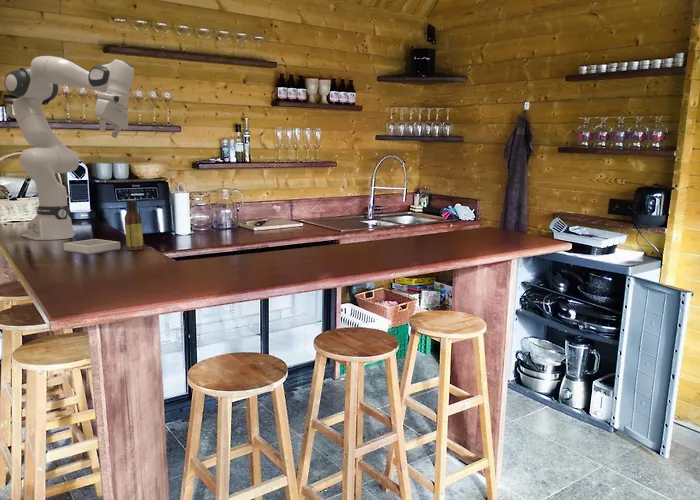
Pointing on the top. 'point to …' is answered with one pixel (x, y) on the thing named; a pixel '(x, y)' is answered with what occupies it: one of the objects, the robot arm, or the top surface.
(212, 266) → the top surface
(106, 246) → the tray
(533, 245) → the top surface
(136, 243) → the sauce bottle
